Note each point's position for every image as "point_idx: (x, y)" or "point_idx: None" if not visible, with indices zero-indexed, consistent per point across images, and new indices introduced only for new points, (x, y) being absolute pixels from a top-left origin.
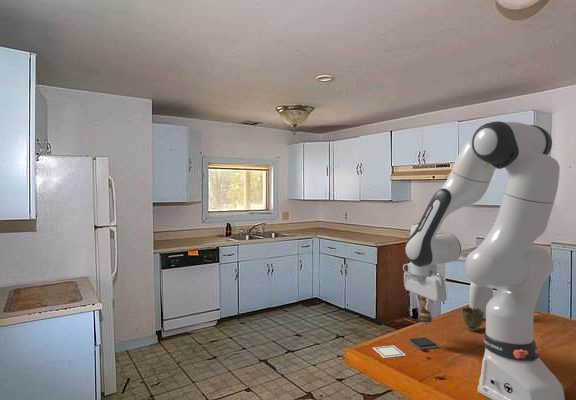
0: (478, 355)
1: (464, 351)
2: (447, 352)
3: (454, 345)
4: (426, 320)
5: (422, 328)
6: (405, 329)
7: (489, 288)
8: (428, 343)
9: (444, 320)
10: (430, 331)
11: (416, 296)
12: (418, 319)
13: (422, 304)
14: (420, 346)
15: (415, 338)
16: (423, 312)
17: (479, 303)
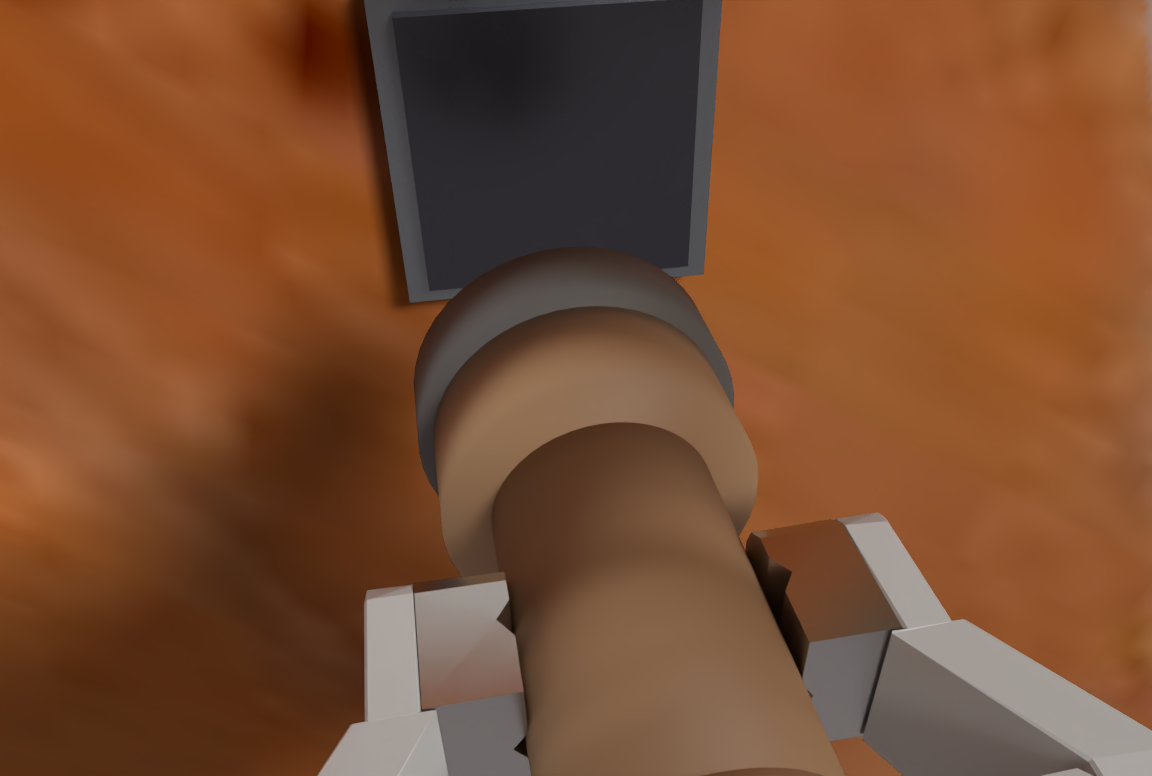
0: (153, 581)
1: (269, 508)
2: (243, 325)
3: None
4: (419, 382)
5: (1036, 384)
6: (1137, 157)
7: None
8: (457, 194)
9: (1080, 657)
10: (912, 428)
11: (1110, 769)
12: (616, 261)
13: (603, 652)
14: (390, 14)
15: (693, 90)
16: (530, 472)
17: None
